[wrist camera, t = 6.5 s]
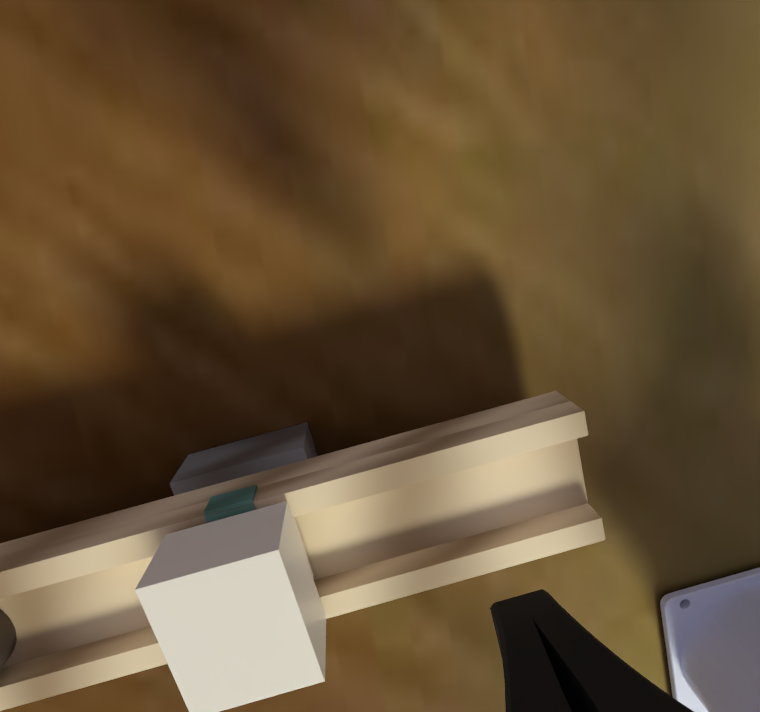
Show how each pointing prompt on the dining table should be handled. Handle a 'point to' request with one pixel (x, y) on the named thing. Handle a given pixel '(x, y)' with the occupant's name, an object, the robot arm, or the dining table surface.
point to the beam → (303, 532)
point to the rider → (236, 609)
